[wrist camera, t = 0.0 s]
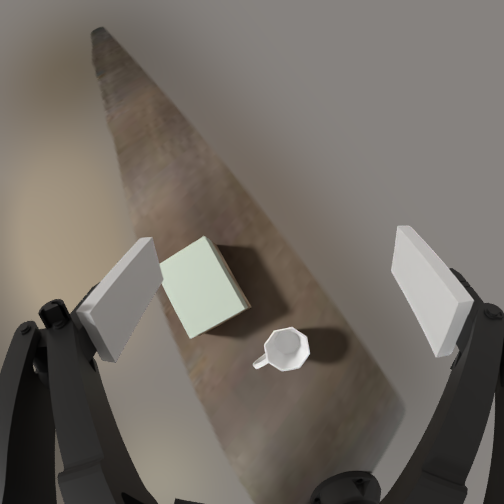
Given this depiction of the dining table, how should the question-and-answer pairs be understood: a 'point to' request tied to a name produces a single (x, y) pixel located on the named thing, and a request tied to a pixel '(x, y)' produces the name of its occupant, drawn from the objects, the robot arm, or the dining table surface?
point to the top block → (200, 287)
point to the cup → (285, 350)
